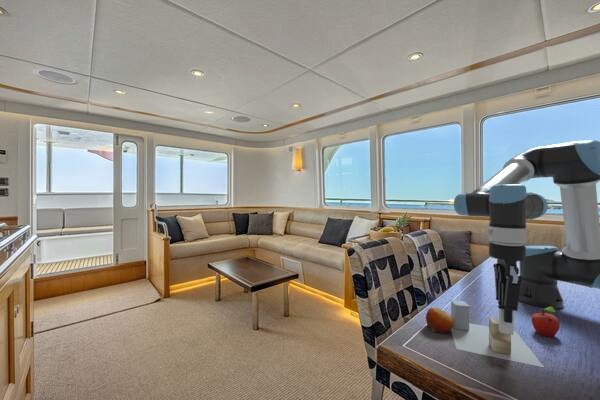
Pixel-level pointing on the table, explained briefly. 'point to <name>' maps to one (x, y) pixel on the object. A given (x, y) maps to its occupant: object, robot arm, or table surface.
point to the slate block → (460, 314)
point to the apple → (545, 323)
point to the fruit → (439, 320)
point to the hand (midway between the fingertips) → (505, 332)
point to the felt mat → (479, 343)
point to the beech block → (498, 338)
